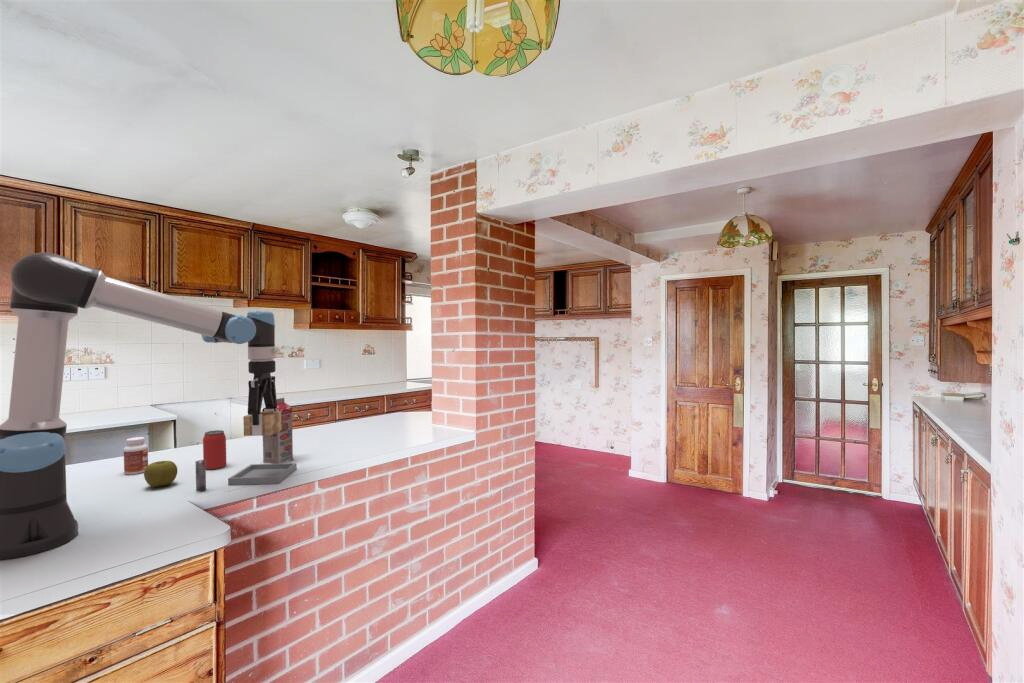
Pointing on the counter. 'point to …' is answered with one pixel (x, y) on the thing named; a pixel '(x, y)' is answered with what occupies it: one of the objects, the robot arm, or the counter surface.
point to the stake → (200, 475)
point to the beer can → (214, 449)
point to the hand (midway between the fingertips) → (263, 432)
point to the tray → (262, 474)
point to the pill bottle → (135, 456)
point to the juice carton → (279, 437)
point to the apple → (160, 473)
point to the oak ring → (264, 423)
